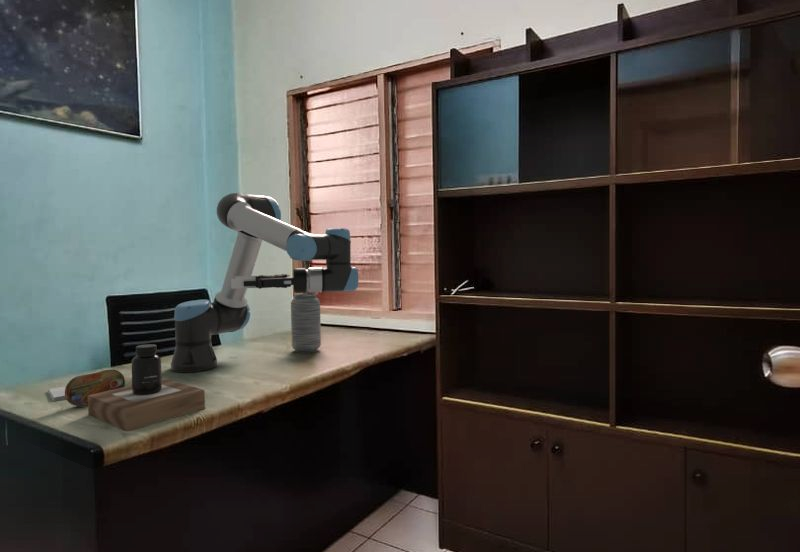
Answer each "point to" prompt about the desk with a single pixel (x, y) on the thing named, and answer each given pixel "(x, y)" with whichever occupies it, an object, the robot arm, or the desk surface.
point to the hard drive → (57, 393)
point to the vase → (305, 323)
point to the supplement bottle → (146, 370)
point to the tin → (92, 386)
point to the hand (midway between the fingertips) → (233, 282)
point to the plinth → (145, 405)
